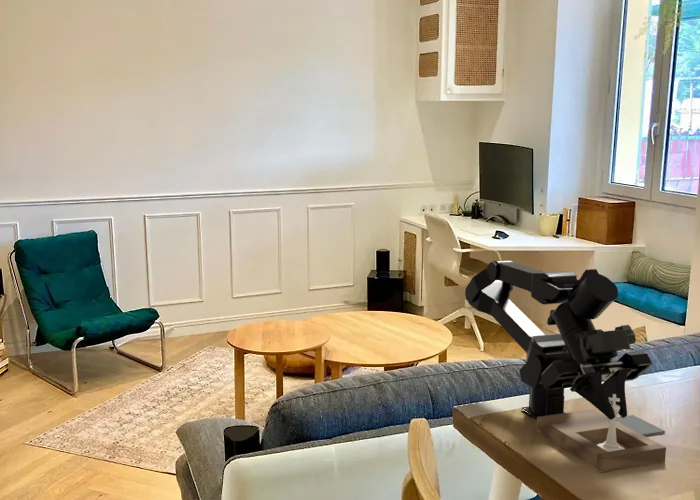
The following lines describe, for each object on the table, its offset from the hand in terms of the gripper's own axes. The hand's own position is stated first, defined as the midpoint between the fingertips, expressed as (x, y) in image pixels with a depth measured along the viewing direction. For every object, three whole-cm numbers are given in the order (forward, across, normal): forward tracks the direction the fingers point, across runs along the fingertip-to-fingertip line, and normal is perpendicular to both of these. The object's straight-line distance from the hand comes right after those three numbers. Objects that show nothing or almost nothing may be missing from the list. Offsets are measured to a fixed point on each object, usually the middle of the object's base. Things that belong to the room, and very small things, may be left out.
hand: (619, 417), depth 112 cm
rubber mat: (-2, +11, +11) cm, 16 cm away
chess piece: (+4, 0, +6) cm, 7 cm away
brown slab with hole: (+1, 0, +8) cm, 8 cm away
